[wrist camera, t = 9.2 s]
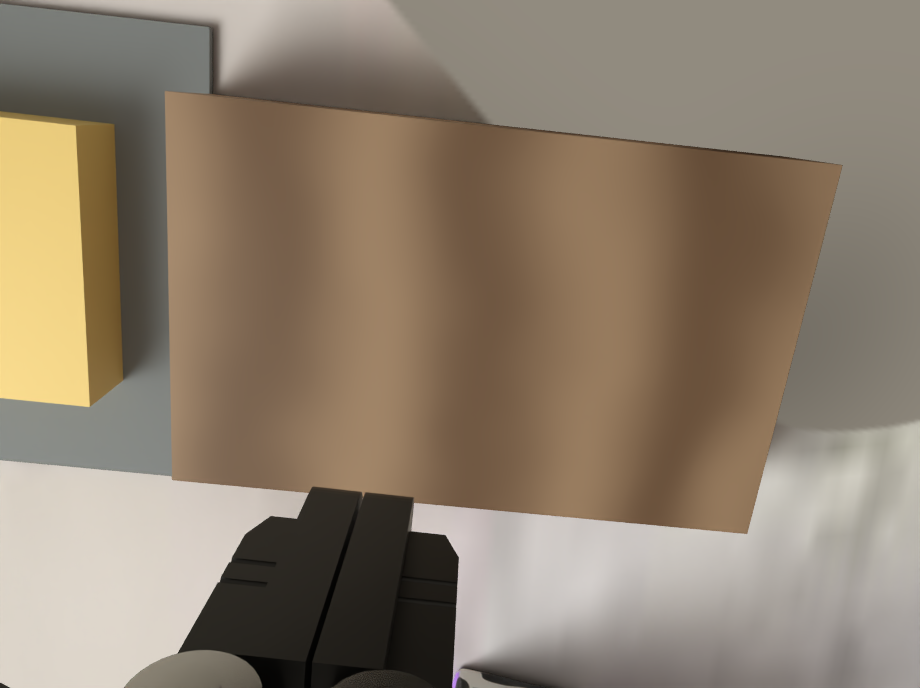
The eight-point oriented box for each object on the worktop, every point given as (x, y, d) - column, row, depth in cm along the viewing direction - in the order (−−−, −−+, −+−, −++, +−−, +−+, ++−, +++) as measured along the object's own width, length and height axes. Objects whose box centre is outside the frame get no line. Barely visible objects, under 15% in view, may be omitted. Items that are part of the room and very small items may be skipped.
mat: (212, 28, 23) (209, 26, 23) (212, 475, 28) (209, 479, 28) (-238, -23, 23) (-247, -24, 22) (-158, 441, 28) (-165, 444, 27)
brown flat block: (782, 156, 24) (842, 165, 20) (708, 476, 28) (747, 533, 24) (212, 94, 24) (164, 91, 20) (212, 428, 27) (172, 480, 24)
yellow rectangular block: (-133, 102, 21) (-73, 103, 24) (-95, 388, 24) (-45, 363, 26) (75, 125, 21) (114, 124, 24) (89, 406, 24) (123, 380, 26)
